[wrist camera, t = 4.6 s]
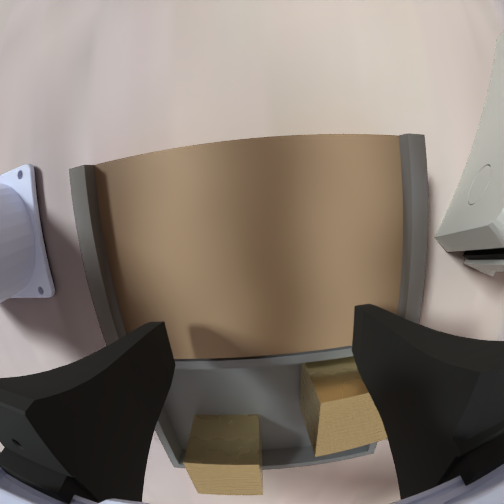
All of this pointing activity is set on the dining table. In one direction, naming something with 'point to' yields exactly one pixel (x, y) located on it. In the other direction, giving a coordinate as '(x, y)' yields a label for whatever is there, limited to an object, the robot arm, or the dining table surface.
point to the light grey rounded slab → (481, 186)
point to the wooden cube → (225, 454)
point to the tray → (248, 404)
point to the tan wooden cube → (337, 407)
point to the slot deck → (255, 240)
